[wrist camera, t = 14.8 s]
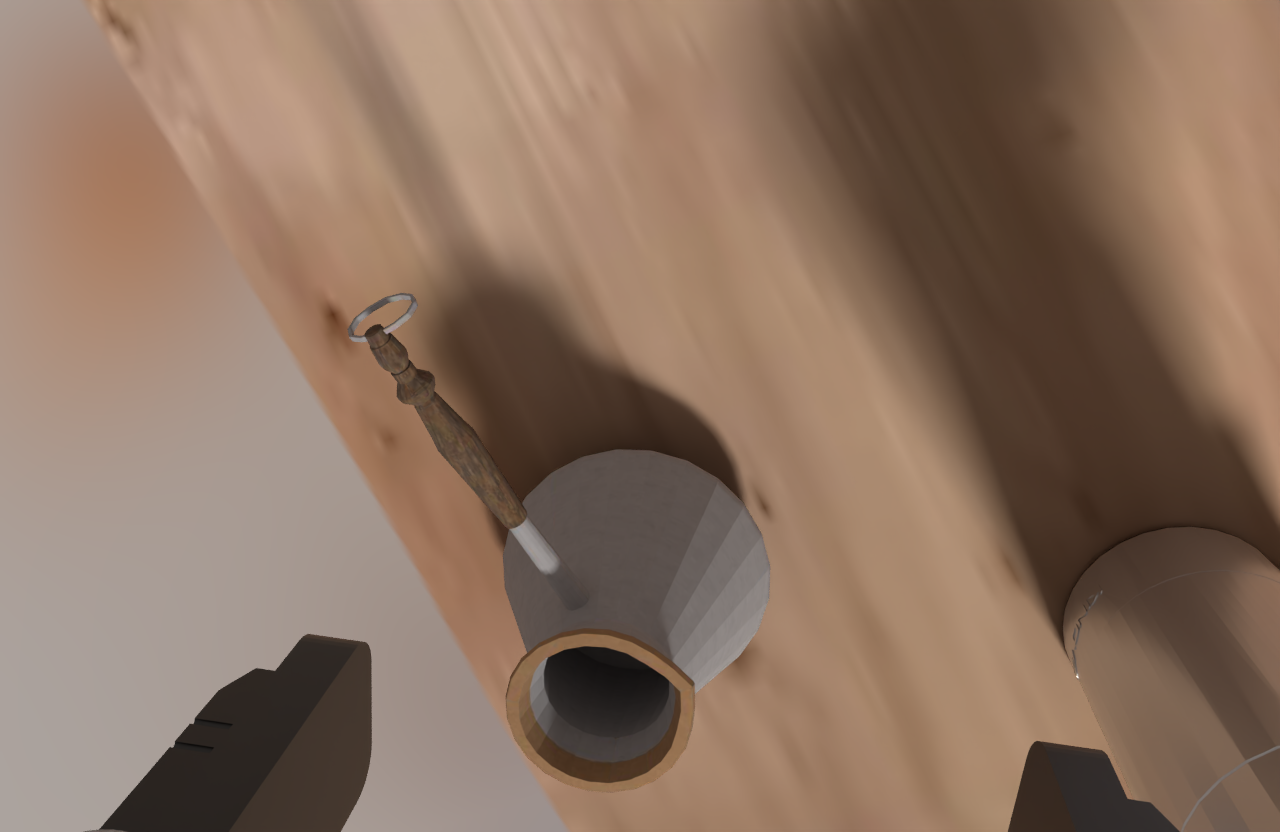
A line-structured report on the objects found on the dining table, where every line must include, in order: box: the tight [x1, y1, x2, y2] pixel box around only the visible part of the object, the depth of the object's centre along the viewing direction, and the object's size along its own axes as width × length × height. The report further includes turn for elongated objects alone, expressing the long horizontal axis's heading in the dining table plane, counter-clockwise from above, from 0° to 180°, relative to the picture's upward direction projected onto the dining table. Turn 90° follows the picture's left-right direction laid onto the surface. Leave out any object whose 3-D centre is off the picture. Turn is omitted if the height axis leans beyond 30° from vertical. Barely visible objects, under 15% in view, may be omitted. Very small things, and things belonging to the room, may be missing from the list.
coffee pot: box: [348, 293, 770, 793], centre depth 40 cm, size 21×12×15 cm, turn 23°
